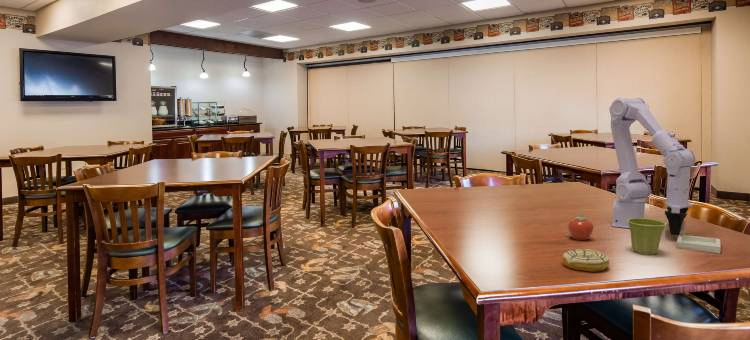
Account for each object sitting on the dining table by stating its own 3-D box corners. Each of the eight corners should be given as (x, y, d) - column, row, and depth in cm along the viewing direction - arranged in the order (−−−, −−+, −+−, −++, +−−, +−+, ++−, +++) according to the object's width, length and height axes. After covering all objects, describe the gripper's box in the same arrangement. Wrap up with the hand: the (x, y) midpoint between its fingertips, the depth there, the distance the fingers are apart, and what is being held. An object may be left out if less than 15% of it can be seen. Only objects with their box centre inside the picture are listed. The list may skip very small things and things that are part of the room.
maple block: (664, 238, 141) (665, 222, 140) (666, 235, 145) (666, 219, 144) (684, 240, 138) (685, 224, 137) (685, 237, 142) (685, 221, 141)
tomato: (570, 234, 147) (570, 210, 146) (595, 237, 143) (596, 212, 142) (564, 239, 141) (565, 214, 140) (590, 243, 137) (591, 217, 136)
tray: (676, 247, 130) (676, 241, 130) (678, 240, 138) (678, 234, 138) (720, 253, 125) (720, 247, 124) (719, 244, 133) (719, 238, 132)
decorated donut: (561, 259, 123) (561, 245, 122) (605, 262, 119) (605, 248, 119) (564, 271, 113) (564, 256, 113) (612, 275, 110) (612, 260, 109)
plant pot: (659, 248, 130) (661, 218, 129) (668, 258, 121) (670, 226, 120) (623, 246, 133) (624, 217, 132) (629, 255, 124) (630, 224, 123)
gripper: (693, 193, 132) (690, 238, 133) (694, 186, 143) (691, 228, 145) (664, 191, 136) (662, 235, 137) (667, 185, 147) (665, 226, 149)
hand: (675, 232), depth 141 cm, fingers open, 7 cm apart
